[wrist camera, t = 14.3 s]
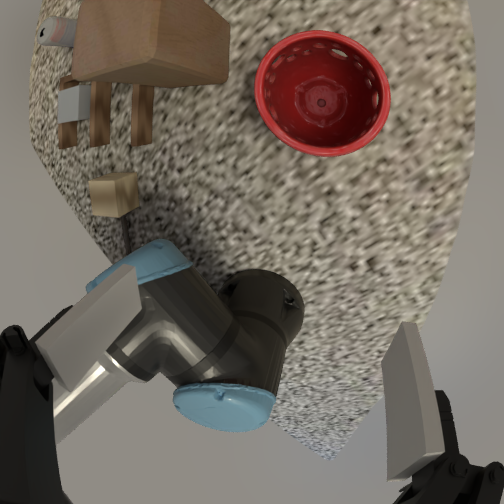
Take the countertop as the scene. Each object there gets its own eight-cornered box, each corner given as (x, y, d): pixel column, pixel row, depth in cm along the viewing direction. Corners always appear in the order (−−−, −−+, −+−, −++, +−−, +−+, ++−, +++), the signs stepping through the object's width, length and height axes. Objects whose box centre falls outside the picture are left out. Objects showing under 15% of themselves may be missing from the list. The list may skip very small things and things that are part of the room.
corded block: (148, 277, 52) (116, 309, 43) (125, 271, 53) (92, 301, 44) (136, 172, 43) (92, 189, 34) (111, 172, 44) (67, 189, 35)
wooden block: (232, 22, 29) (160, -37, 12) (230, 84, 34) (148, 58, 16) (170, 32, 31) (77, -1, 14) (167, 89, 36) (67, 83, 18)
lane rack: (151, 143, 40) (137, 146, 37) (73, 145, 44) (58, 149, 40) (156, 59, 34) (142, 56, 30) (75, 77, 37) (60, 77, 34)
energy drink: (85, 28, 32) (39, 22, 22) (104, 21, 31) (57, 11, 21) (81, 52, 35) (33, 49, 24) (100, 45, 34) (51, 39, 23)
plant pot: (351, 163, 35) (363, 180, 24) (260, 127, 36) (234, 129, 25) (383, 79, 29) (408, 61, 18) (290, 44, 29) (276, 13, 19)
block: (101, 117, 40) (78, 119, 35) (80, 120, 41) (57, 123, 36) (103, 85, 37) (79, 85, 32) (81, 90, 38) (58, 91, 33)
